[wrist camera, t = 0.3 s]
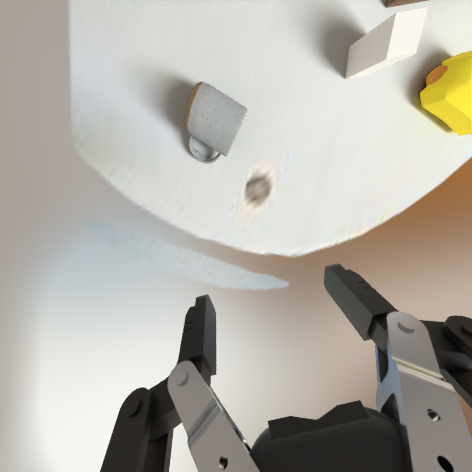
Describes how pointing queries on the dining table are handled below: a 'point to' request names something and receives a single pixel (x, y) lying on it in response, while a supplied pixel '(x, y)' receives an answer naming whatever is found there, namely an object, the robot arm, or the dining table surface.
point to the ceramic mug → (212, 120)
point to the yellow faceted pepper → (451, 93)
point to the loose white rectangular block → (386, 43)
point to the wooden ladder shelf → (401, 2)
